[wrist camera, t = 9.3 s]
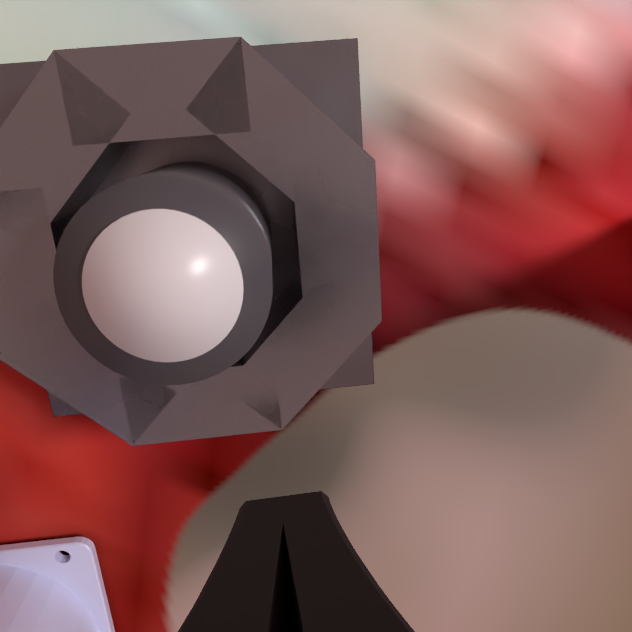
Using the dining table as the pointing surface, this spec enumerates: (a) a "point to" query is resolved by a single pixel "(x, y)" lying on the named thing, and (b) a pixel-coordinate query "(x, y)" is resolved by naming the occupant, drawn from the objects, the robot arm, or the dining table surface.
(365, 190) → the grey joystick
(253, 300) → the cap
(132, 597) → the dining table surface
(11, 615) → the robot arm
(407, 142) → the dining table surface
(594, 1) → the dining table surface
